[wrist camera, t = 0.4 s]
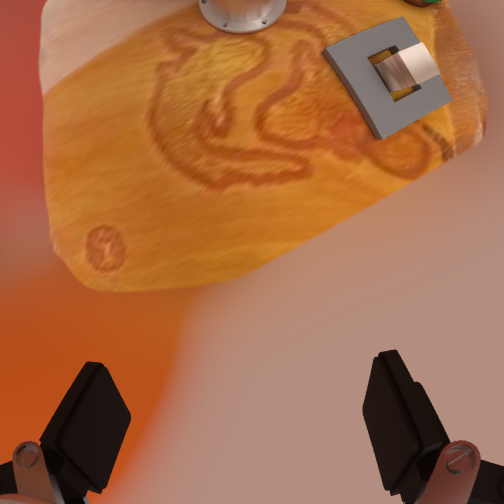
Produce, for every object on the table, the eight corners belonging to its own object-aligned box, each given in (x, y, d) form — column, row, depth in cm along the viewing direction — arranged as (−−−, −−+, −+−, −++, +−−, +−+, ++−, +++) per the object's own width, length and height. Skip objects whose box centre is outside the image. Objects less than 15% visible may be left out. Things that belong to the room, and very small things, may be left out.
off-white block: (369, 68, 35) (397, 52, 26) (391, 58, 34) (422, 42, 25) (385, 93, 36) (417, 84, 27) (406, 83, 35) (440, 73, 26)
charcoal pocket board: (321, 52, 35) (325, 47, 32) (396, 21, 31) (402, 16, 29) (376, 139, 39) (382, 139, 37) (444, 101, 36) (452, 100, 33)
